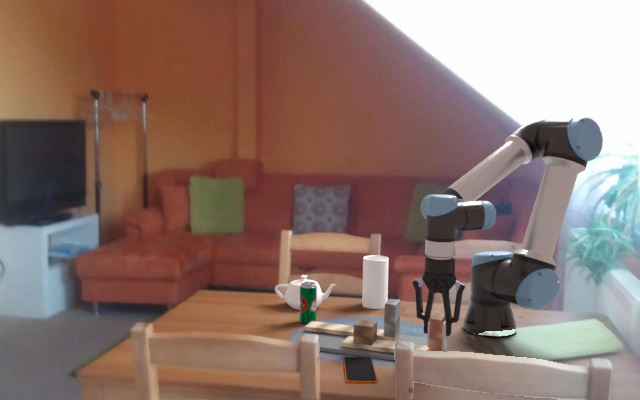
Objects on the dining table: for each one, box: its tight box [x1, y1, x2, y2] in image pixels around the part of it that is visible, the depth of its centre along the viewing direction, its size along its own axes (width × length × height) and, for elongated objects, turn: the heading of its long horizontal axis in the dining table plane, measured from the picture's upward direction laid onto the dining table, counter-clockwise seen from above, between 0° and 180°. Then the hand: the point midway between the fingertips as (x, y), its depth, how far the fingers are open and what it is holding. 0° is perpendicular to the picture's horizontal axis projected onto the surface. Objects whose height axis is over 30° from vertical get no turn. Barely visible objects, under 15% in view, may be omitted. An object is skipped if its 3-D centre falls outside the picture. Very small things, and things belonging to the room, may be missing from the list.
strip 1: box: [304, 298, 401, 342], centre depth 191 cm, size 26×6×10 cm, turn 70°
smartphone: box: [342, 356, 379, 384], centre depth 167 cm, size 8×17×1 cm, turn 1°
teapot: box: [274, 274, 337, 311], centre depth 222 cm, size 20×12×10 cm, turn 84°
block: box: [353, 319, 378, 346], centre depth 181 cm, size 5×5×5 cm
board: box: [288, 326, 427, 361], centre depth 186 cm, size 39×18×1 cm, turn 70°
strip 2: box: [342, 312, 446, 353], centre depth 178 cm, size 26×6×10 cm, turn 70°
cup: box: [361, 254, 389, 310], centre depth 223 cm, size 8×8×16 cm
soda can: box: [299, 281, 318, 325], centre depth 205 cm, size 5×5×12 cm
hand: (436, 346), depth 174 cm, fingers closed on strip 2, 3 cm apart
